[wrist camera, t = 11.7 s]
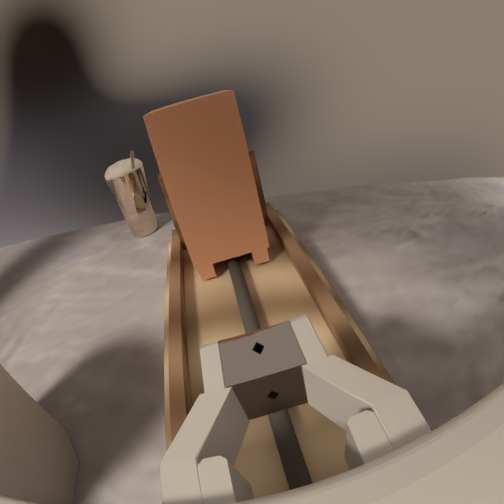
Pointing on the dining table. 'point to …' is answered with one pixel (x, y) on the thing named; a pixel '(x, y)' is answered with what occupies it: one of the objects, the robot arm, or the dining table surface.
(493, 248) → the dining table surface
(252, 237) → the panel
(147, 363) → the dining table surface
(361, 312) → the dining table surface
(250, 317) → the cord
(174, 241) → the channel
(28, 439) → the toilet tissue
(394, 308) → the dining table surface
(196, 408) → the robot arm
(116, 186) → the milkshake
